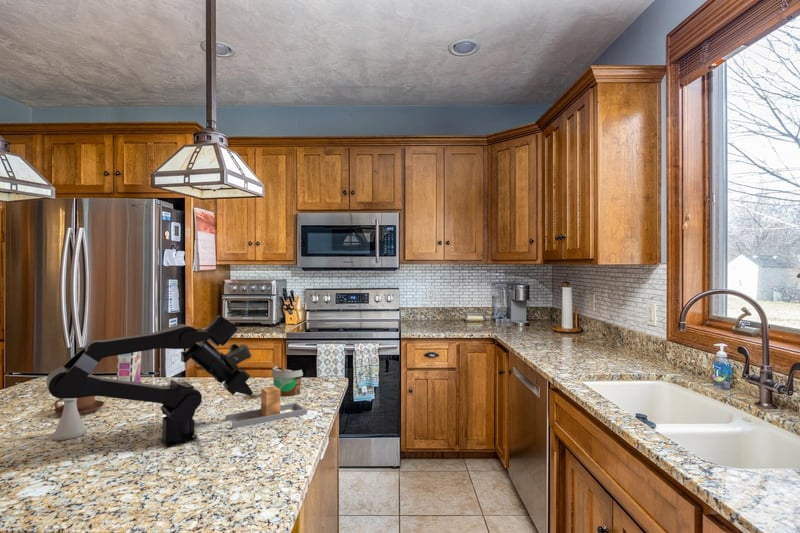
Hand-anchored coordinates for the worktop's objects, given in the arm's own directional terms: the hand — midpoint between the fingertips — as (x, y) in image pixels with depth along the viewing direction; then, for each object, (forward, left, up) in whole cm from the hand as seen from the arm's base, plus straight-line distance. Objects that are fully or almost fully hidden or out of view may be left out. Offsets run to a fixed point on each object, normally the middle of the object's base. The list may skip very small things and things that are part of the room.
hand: (251, 393), depth 119 cm
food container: (+19, +16, -9) cm, 27 cm away
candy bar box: (-16, +64, -9) cm, 67 cm away
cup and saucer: (-33, +47, -9) cm, 58 cm away
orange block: (+5, -1, -7) cm, 9 cm away
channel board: (+4, -1, -9) cm, 10 cm away
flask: (-38, +25, -9) cm, 46 cm away
